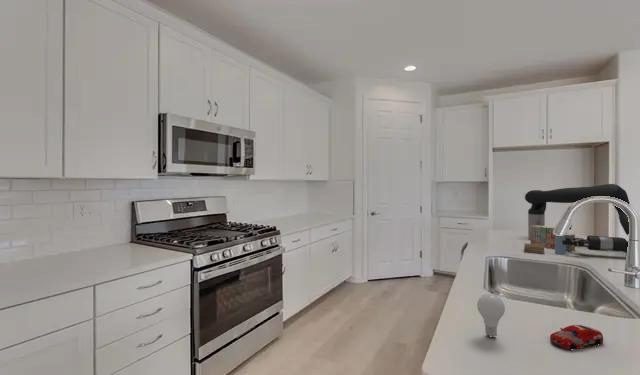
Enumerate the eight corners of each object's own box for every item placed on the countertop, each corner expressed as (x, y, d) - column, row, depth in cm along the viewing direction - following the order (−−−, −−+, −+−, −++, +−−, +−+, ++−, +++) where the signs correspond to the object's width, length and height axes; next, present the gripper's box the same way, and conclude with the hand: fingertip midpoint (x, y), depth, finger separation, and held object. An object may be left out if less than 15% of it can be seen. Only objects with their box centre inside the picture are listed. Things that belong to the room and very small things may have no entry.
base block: (524, 250, 188) (524, 243, 187) (543, 251, 183) (543, 244, 183) (524, 253, 180) (524, 246, 180) (544, 254, 175) (544, 247, 175)
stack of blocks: (575, 250, 183) (575, 229, 183) (569, 251, 180) (569, 229, 180) (536, 244, 202) (536, 224, 202) (530, 245, 200) (529, 225, 199)
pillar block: (555, 252, 178) (555, 230, 178) (564, 253, 177) (563, 231, 176) (556, 254, 175) (556, 232, 175) (565, 254, 173) (565, 232, 173)
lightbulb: (473, 331, 87) (472, 290, 87) (497, 331, 87) (496, 290, 87) (484, 342, 81) (484, 299, 81) (510, 342, 81) (509, 299, 81)
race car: (565, 353, 76) (565, 336, 76) (544, 342, 81) (544, 326, 81) (608, 345, 79) (608, 329, 79) (586, 335, 84) (585, 320, 84)
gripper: (595, 233, 174) (558, 232, 182) (603, 238, 162) (563, 236, 169) (595, 247, 174) (558, 245, 182) (603, 253, 162) (563, 250, 169)
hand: (561, 241), depth 176 cm, fingers open, 8 cm apart
